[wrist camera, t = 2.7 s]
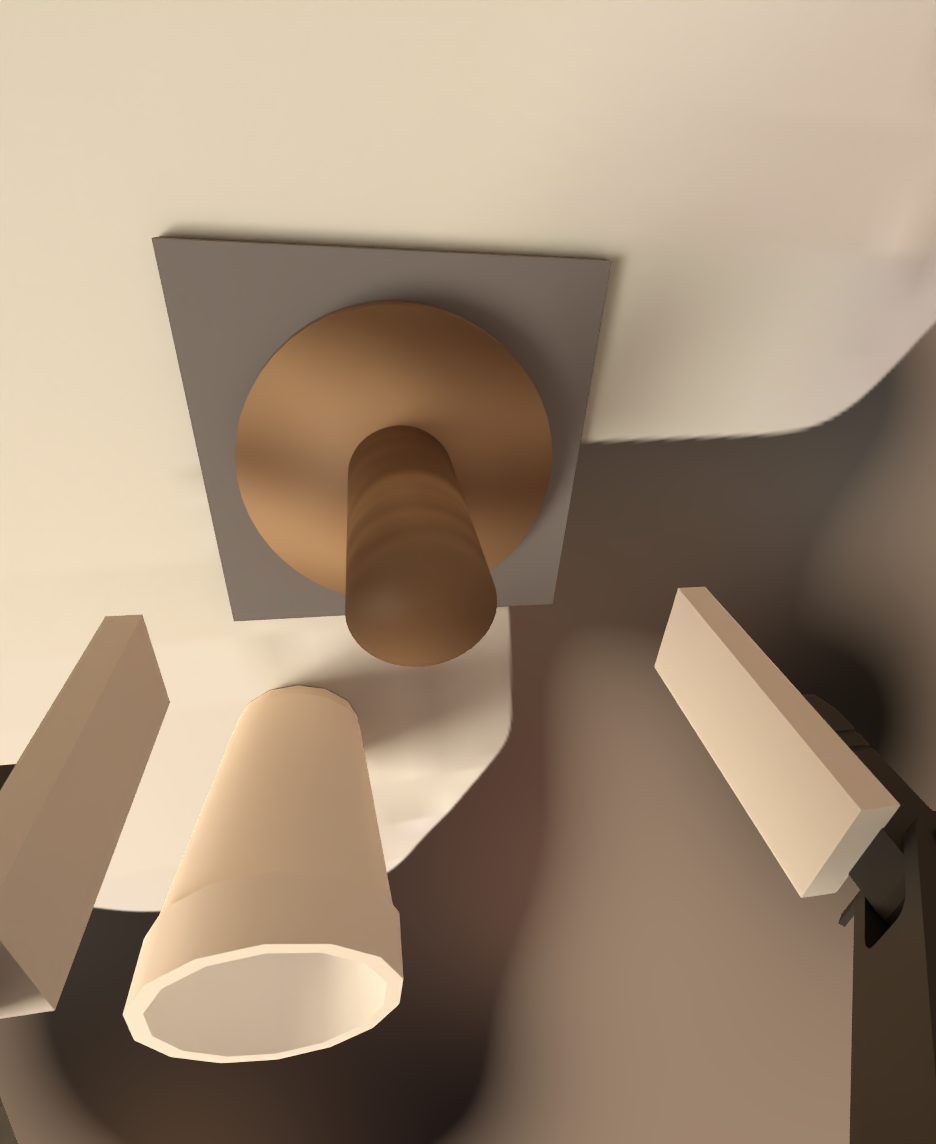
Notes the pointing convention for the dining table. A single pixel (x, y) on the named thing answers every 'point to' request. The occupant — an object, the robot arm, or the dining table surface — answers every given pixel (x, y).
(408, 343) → the lid
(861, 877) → the robot arm
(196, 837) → the foam cup
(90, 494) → the dining table surface
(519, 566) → the mat
